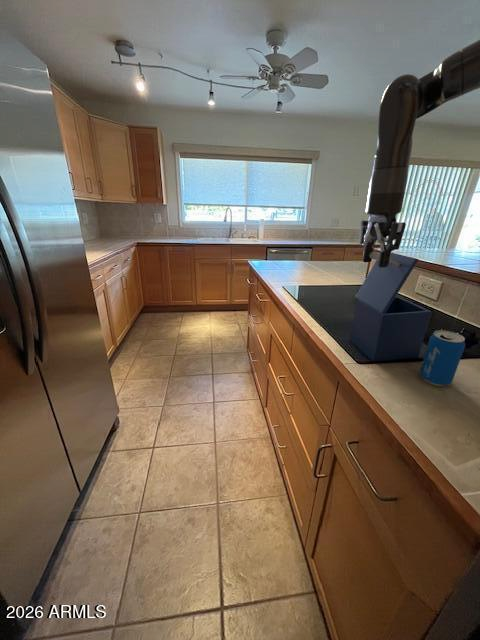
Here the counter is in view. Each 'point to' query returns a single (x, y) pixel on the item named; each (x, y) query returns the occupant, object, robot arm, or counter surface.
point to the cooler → (389, 330)
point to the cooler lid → (385, 281)
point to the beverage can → (442, 357)
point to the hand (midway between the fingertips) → (374, 264)
